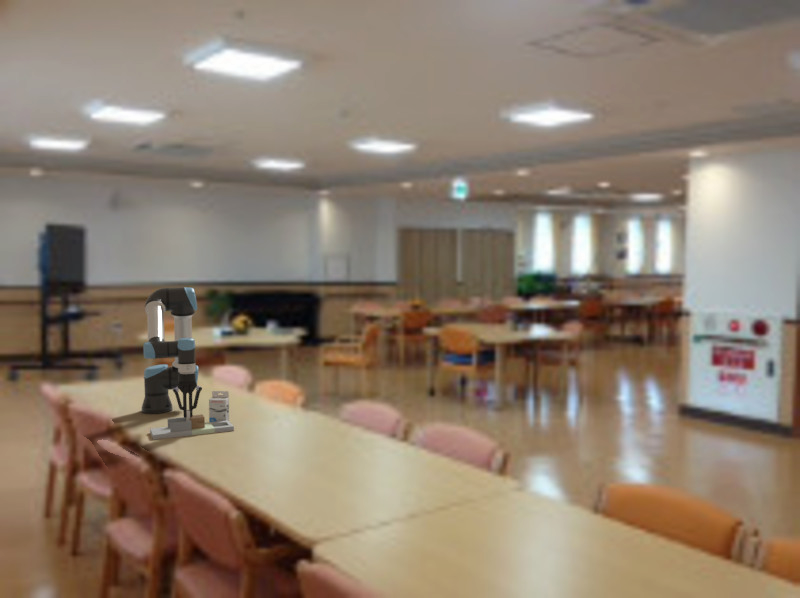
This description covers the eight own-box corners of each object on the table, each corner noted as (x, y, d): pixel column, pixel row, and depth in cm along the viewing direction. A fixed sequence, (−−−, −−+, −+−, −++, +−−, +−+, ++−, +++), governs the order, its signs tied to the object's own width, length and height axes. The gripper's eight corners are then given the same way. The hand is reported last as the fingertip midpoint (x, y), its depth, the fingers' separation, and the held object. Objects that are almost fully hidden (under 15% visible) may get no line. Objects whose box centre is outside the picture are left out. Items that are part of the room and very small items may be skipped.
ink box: (208, 423, 343) (208, 392, 342) (212, 421, 348) (211, 390, 347) (226, 423, 342) (225, 393, 341) (229, 421, 347) (229, 391, 346)
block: (189, 426, 329) (188, 415, 329) (202, 425, 332) (202, 414, 331) (191, 429, 324) (190, 418, 323) (204, 427, 326) (204, 416, 326)
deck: (150, 432, 326) (149, 419, 326) (228, 424, 341) (227, 411, 340) (153, 439, 314) (152, 426, 314) (233, 430, 329) (233, 417, 329)
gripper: (173, 374, 319) (174, 427, 320) (203, 372, 324) (204, 424, 326) (170, 372, 326) (172, 424, 327) (200, 370, 331) (201, 421, 333)
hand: (188, 424), depth 326 cm, fingers closed
